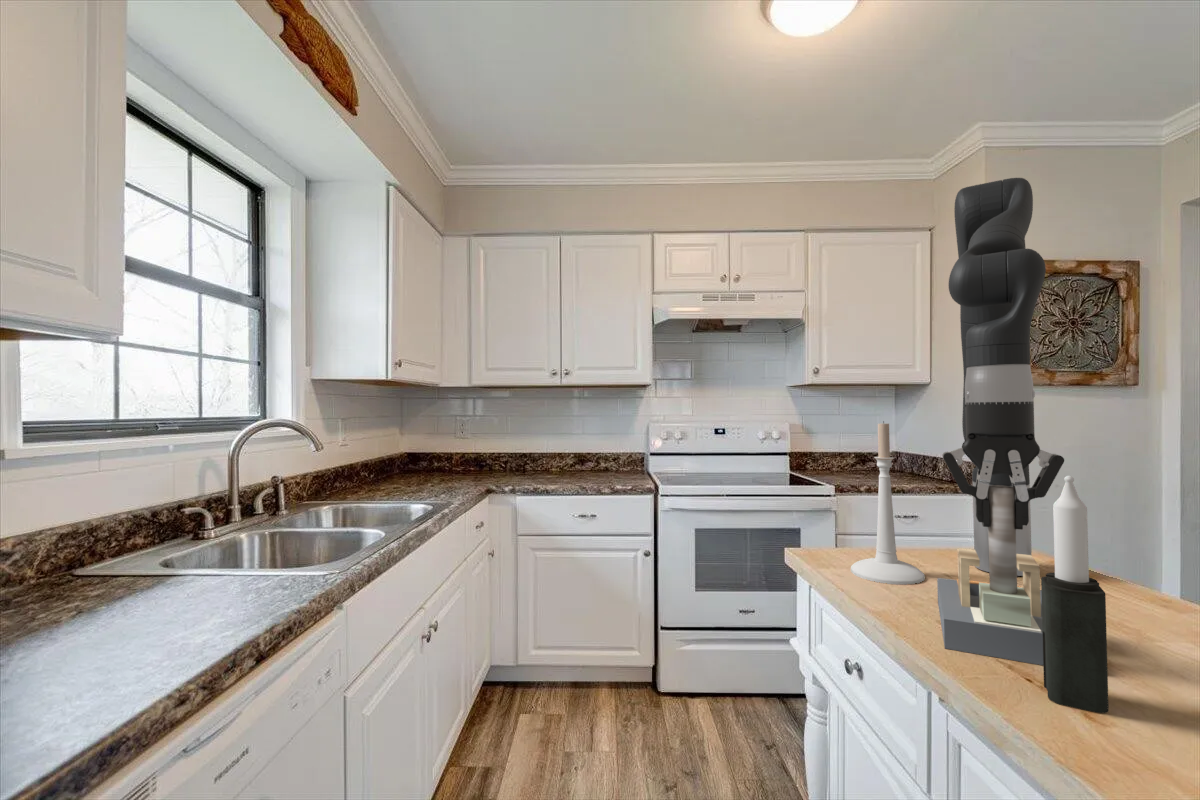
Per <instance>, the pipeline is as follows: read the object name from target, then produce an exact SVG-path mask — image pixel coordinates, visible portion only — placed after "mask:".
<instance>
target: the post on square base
mask: <svg viewBox="0 0 1200 800" xmlns="http://www.w3.org/2000/svg"><path fill="white" fill-rule="evenodd" d="M987 497H988V500H989V513H990V527H988V537H989V572H988V573H989V582H987V583H980V582H981V581H979V606H980V610H981V613H982V616H983V619H984V620H990V621H997V622H1004V623H1011V624H1017V625H1024V626H1031V608H1030V598H1029V596H1028V595H1027V593H1026V591H1025V590H1024V588H1023V586H1021V587H1017V586H1018V576H1017V558H1016V526H1015V487H1011V486H1003V485H989V488H988V493H987ZM988 583H990V584H988Z"/></svg>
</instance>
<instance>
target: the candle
mask: <svg viewBox="0 0 1200 800" xmlns="http://www.w3.org/2000/svg"><path fill="white" fill-rule="evenodd" d="M1063 479H1064V480H1063V481H1064V482H1065V483H1064V486H1063V488H1062V490H1061V494H1060V496H1059V497H1058V498H1057V500H1055V502H1054V503H1053V505H1052V507H1053V509H1052V512H1053V513H1052V514H1053V515H1052V519H1053V547H1054V548H1053V553H1054V555H1053V557H1054V572H1048V573H1045V576H1042V577H1040V590H1041V592H1042V631H1043V665H1042V667H1043V670H1042V671H1043V687H1044V688H1046V691H1047V698H1048V699H1049V701H1051V702H1053V703H1055V704H1058V705H1061V706H1063V707H1064V706H1065V707H1068V708H1069V707H1070V708H1074V709H1079V710H1084V711H1089V712H1092V713H1097V714H1107V713H1109V711H1110V710H1109V678H1108V676H1109V675H1108V674H1109V673H1108V671H1109V670H1108V640H1107V639H1108V638H1107V637H1108V636H1107V635H1108V634H1107V608H1106V607H1107V606H1106V605H1107V604H1106V592H1105V591H1104V590H1103V588H1102V587H1101V586H1100V582H1099V581H1098V580H1097V579H1094V578H1092V577H1090V569H1089V567H1090V566H1089V533H1088V530H1089V528H1088V527H1089V526H1088V507H1087V506H1086V504H1085V503H1084V502H1083V501H1082V499H1081V498H1080V497H1079V494H1078V492H1077V490H1076V487H1075V484H1074V483H1073V482H1074V481H1075V478H1074V477H1073V476H1071V475H1066V476H1065V477H1064V478H1063Z"/></svg>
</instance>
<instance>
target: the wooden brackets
mask: <svg viewBox="0 0 1200 800" xmlns="http://www.w3.org/2000/svg"><path fill="white" fill-rule="evenodd" d="M1016 558H1017V568H1018V570H1019V571H1023V576H1022V588H1024V590H1025V591H1026V593H1027V595H1028V596H1029V598H1030V608H1031V615H1032V616H1035V617H1041V599H1040V590H1041V571H1040V570H1041V566H1040V564H1039V563H1038V562H1037V561H1036V560H1035V558H1034V557H1033V556H1031V555H1025V554H1016ZM975 566H978V567H980V559H979V557H978V555H977V553H976V551H975V550H974V549H970V548H969V549H968V548H960V547H958V548H957V579H958V591H959V597H960V601H961V605H962V606H963V607H970V581H971V580H970V579H971V578H970V567H975Z"/></svg>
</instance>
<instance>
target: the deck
mask: <svg viewBox="0 0 1200 800" xmlns="http://www.w3.org/2000/svg"><path fill="white" fill-rule="evenodd" d="M936 581H937V582H936V583H937V588H936V589H937V605H938V613H939V620H940V626H941V631H942V632H941V633H942V639H943V646H944V649H946V650H952V651H958V652H964V653H968V654H976V655H982V656H987V657H992V658H998V659H1003V660H1005V659H1006V660H1010V661H1015V662H1021V663H1027V664H1032V665H1038V664H1039V665H1038V666H1043V631H1042V592H1041V589H1040V599H1041V617H1035V616H1032V615H1031V626H1024V625H1017V624H1011V623H1004V622H997V621H990V620H984V619H983V616H982V613H981V610H980V606H979V582H980V583H988V584H990V582H986V581H978V580H970V607H963V606H962V605H961V601H960V597H959V591H958V578H956V579H951V578H950V579H949V578H942V577H937V579H936ZM1017 587H1022V586H1020V585H1019V586H1018V585H1017Z"/></svg>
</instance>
